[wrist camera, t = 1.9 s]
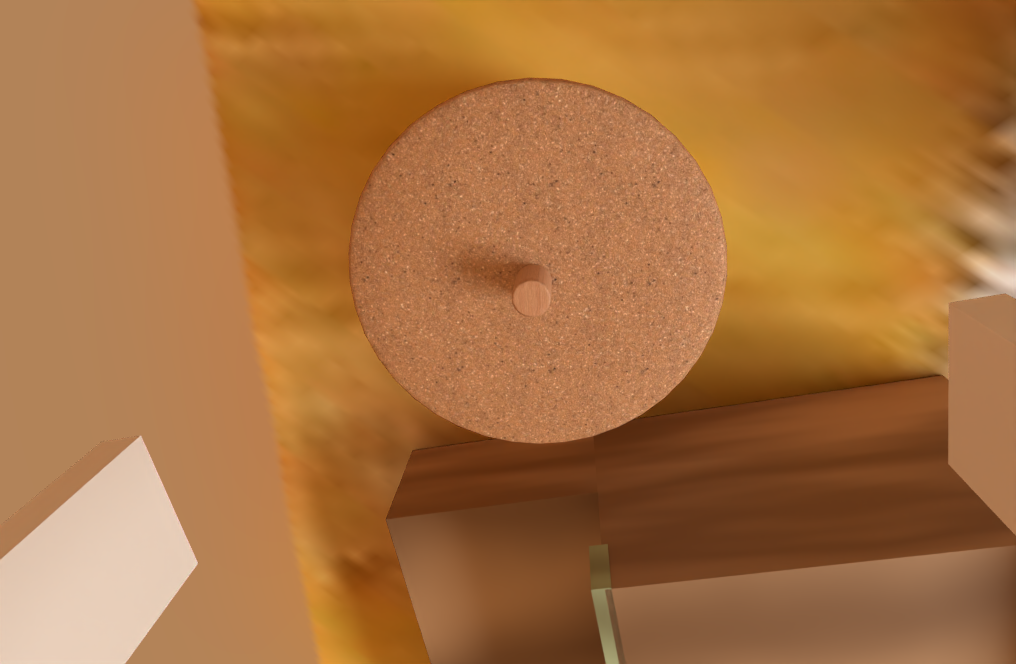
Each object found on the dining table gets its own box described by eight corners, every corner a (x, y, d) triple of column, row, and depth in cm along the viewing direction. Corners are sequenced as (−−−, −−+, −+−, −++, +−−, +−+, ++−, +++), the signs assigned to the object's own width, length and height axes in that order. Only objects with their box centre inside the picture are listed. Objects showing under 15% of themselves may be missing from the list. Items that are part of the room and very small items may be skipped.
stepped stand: (412, 449, 31) (326, 668, 20) (942, 374, 28) (1192, 583, 17) (480, 687, 36) (441, 971, 25) (939, 646, 33) (1132, 949, 22)
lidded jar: (416, 351, 29) (353, 474, 21) (391, 78, 26) (301, 89, 17) (677, 349, 28) (727, 477, 20) (692, 66, 25) (761, 70, 16)
